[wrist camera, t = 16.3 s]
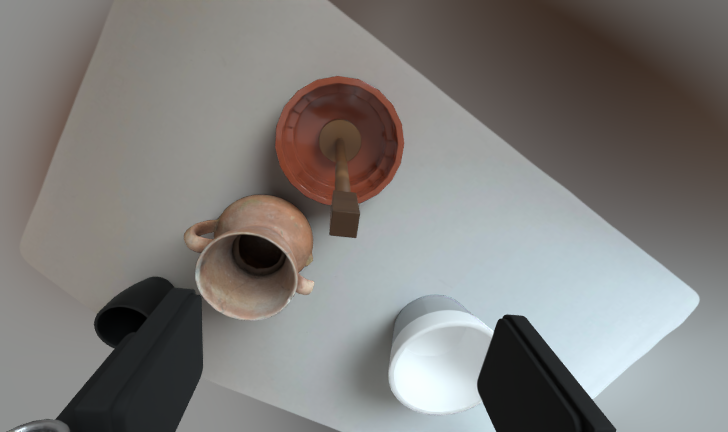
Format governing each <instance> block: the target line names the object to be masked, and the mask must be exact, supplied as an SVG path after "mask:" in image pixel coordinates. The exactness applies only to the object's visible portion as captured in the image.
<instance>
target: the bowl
mask: <svg viewBox="0 0 728 432" xmlns="http://www.w3.org/2000/svg"><path fill="white" fill-rule="evenodd" d="M493 333H494V332H493V331H492V330H491V329H490V328H489V327H487V326H486V325H485V324H484V323H483V322H482V321H480V320H479V319H478V318H477V317H475V316H474V315H473V314H472V313H471V312H470V311H468V310H467V309H466V308H465V307H464V306H462V305H461V304H460V303H459V302H458V301H456V300H454V299H452V298H450V297H447V296H442V295H429V296H425V297H421V298H419V299H416V300H414V301H413V302H411V303H409V304H408V305H407V306H406V307H405V308H404V309H403V310H402V311H401V312H400V314H399V315H398V317H397V319H396V321H395V326H394V332H393V340H392V347H391V353H390V361H389V369H388V381H389V384H390V388H391V390H392V392H393V394H394V395H395V397H396V398H397V399H398V400H399V401H400V402H401V403H402V404H403V405H405V406H406V407H408V408H409V409H411V410H414V411H416V412H419V413H423V414H428V415H450V414H455V413H459V412H463V411H465V410H468V409H471V408H473V407H475V406H477V405H478V404H480V403H482V400H481V397H480V395H479V393H478V390H477V380H478V377H479V374H480V371H481V368H482V365H483V362H484V359H485V356H486V354H487V351H488V348H489V345H490V342H491V339H492V336H493Z"/></svg>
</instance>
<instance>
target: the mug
mask: <svg viewBox="0 0 728 432" xmlns="http://www.w3.org/2000/svg"><path fill="white" fill-rule="evenodd" d="M172 288H174V286H173V285H172V284H171V283H170V282H169V281H168V280H166V279H164V278H161V277H150V278H147V279H145V280H143V281H141V282H139V283H137V284H134V285H132V286H131V287H129V288H127V289H126V290H124V291H122V292H121V293H119V294H118V295H117V296H115V297H114V298H113V299H112V300H111V301H110V302H109V303H108V304H107V305H106V306H104V307H103V308H102V309H101V310H100V311H99V313H98V314H97V316H96V318H95V321H94V326H95V331H96V333H97V335H98V336H99V338H100V339H101V340H102V341H103V342H105V343H106V344H107V345H109V346H110V347H112V348H116V347H117V345H118V344H119V343H120V342H121V341H122V339H123V338H124V337H125V336H126V335H128V334H129V333H132V332H133V333H136V332H137V331H138V329H139V328H140V327H141V326H142V325H143V323H144V322H145V321H146V320H147V318H148V317H149V316H150V315H151V313H152V312H153V311H154V310H155V308H156V307H157V306H158V305H159V304H160V302H161V301H162V300H163V299H164V297H165V296H166V295H167V294H168V292H169V291H170V290H171V289H172Z"/></svg>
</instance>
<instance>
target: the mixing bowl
mask: <svg viewBox="0 0 728 432" xmlns="http://www.w3.org/2000/svg"><path fill="white" fill-rule="evenodd" d="M334 119H345V120H348V121H350V122H351V123H353V124H354V125H355V126H356V127H357V129H358V131H359V133H360V136H361V147H360V150H359V152H358V154H357V155H356V156H355V157H354V158H353V159H351V160H350V161H347V166H348V174H349V181H350V189H351V192H354V193H356V194H357V200H358V203H362V202H364V201H366V200H368V199H370V198H372V197H373V196H375V195H377V194H379V193H380V192H381V191H382V190H383V189H384V188H385V187H386V186H387V185H388V184H389V183H390V182H391V181H392V179H393V177H394V175H395V173H396V171H397V169H398V168H399V166H400V164H401V159H402V154H403V148H404V138H403V130H402V123H401V121H400V119H399V117H398V115H397V113H396V111H395V108H394V106H393V105H392V104H391V102H390V101H389V100H388V99H387V98H386V97H385V96H384V95H383V94H382V93H381V92H380V91H379V90H378V89H376V88H374V87H373V86H371V85H369V84H367V83H365V82H363V81H361V80H359V79H353V78H347V77H341V76H336V77H330V78H325V79H319V80H316V81H314V82H312V83H310V84H309V85H307V86H305V87H303V88H302V89H300V90H298V91H297V92H296V94H295V95H294V96H293V97H292V98H291V99H290V101H289V102H288V103H287V104H286V105H285V106H284V108H283V111H282V113H281V116H280V118H279V121H278V123H277V127H276V141H275V149H276V152H277V156H278V160H279V164H280V167H281V169H282V170H283V172H284V174H285V175H286V177H287V178H288V180H289V181H290V183H291V184H292V185H293V186H294V187H295V188H297V189H298V190H299V191H300V192H301V193H303V194H304V195H305V196H306V197H308V198H311V199H313V200H315V201H317V202H320V203H322V204H327V205H331V203H332V195H333V190H335V162H333V161H331V160H329V159H327V158H326V157H325V156H324V155H323V153H322V152H321V150H320V147H319V135H320V132H321V130H322V128H323V127H324V125H325V124H327V123H328V122H329V121H331V120H334Z"/></svg>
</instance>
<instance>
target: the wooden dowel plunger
mask: <svg viewBox="0 0 728 432" xmlns="http://www.w3.org/2000/svg"><path fill="white" fill-rule="evenodd" d="M319 147H320V150H321V152H322V153H323V155H324V156H325V157H326V158H327V159H329V160H331V161H333V162H335V190H333V195H332V203H331V212H330V232H329V235H331V236H341V237H351V238H356V237H357V230H358V224H359V217H360V211H359V205H358V200H357V194H356V193H354V192H351V189H350V181H349V174H348V166H347V161H350V160H351V159H353V158H354V157H355V156H356V155H357V154H358V152H359V150H360V147H361V136H360V133H359V131H358V129H357V127H356V126H355V125H354V124H353V123H351V122H350V121H348V120H345V119H334V120H331V121H329V122H328V123H327V124H325V125H324V127H323V128H322V130H321V132H320V135H319Z"/></svg>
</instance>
